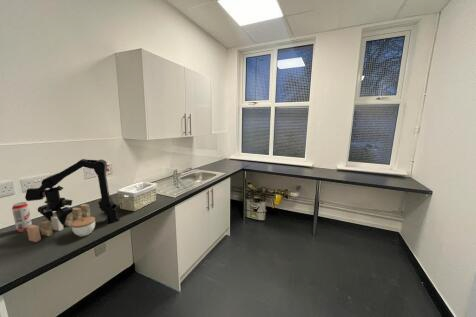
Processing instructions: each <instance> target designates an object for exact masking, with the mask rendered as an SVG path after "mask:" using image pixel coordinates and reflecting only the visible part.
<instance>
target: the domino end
mask: <svg viewBox="0 0 476 317" xmlns="http://www.w3.org/2000/svg"><path fill="white" fill-rule="evenodd" d="M26 232H27V237H28V241H30V242H35V243H38V242H39V241H41V240H42V239H41V237H42V236H41V233H40V232H41V231H40V225H35V224H32V225H29V226H27V231H26Z"/></svg>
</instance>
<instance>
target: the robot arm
mask: <svg viewBox="0 0 476 317" xmlns="http://www.w3.org/2000/svg"><path fill="white" fill-rule="evenodd" d="M107 165H108V162H107V161H106V160H104V159H97V160H96V159H85V158H82V159H80V160H78V161H77V162H76V163H74V164H72V165H70V166H69V167H67V168H65V169H64V170H62V171H60V172H57V173H55V174H52V175H50V176H47V177H46V178H44V179H42V180H41V182H40V183H41V185H40V186H39V187H33V188H32V187H30V188H27V189H26V192H25V196H24V199H25V201H26V202H33V201H42V200H43V199H44V198H45V200H44V204H43V205H41V206H39V207H38V208H37V212H38V213H39V214H40V215H42V217H43V218H45V220H48V221H51V217H52V216H54V212H55V215H57V218H58V219H59V221H60V223H61V224H62V225H63V226H65V225H64V224H65V221H66V217H67V215H68V214H70V213H71V212H73V210H72V208H73V207H69V206H72V204H73V200H72V199H66V197H61V194H60V191H62V190H63V189H64V187H63V186H60V185H58V184H59V183H61V181H62V180H64V179H65V178H66V177H68V176H69V175H71V174H73V173H75V172H76V171H78V170H79V169H81V168H86V169H92V170H94V172H95V174H96V175H97V179H98V186H99V190H100V191H99V192H100V197H101V198H100V199H99V201H98V203H97V204H98V207H99V208H98V209H100V211H101V212H104V214H105V215H106V218H105V222H106V224H108V225H109V224H112V223H115V222H118V221H120V218H119V217H118V211H117V208H118V204H116V203H114V201H113V198H112V197H111V195H110V191H109V184H108V179H107V167H108V166H107ZM57 185H58V186H57ZM56 186H57V187H56ZM51 223H52V221H51Z"/></svg>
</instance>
